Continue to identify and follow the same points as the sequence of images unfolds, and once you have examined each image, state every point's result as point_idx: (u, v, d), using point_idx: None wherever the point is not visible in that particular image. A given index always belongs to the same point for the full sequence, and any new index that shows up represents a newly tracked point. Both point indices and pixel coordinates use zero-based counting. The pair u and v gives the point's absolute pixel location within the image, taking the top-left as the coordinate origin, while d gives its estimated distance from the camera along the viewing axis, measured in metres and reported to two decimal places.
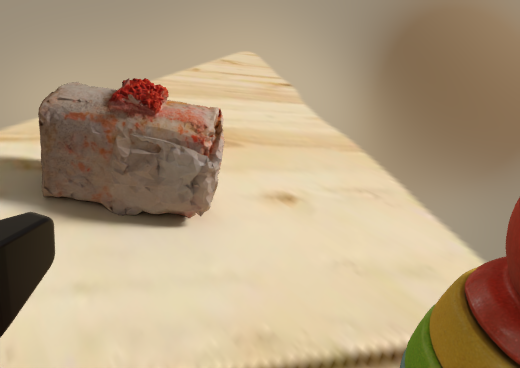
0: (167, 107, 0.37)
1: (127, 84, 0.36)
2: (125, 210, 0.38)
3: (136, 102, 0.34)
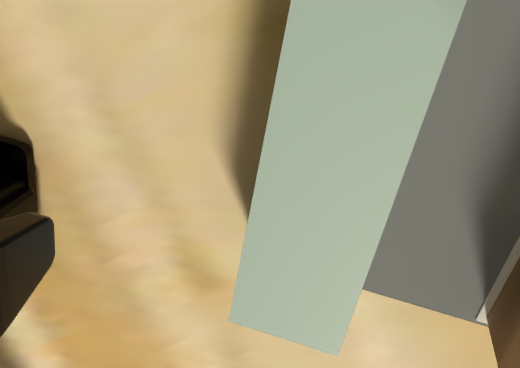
0: None
1: None
2: None
3: None
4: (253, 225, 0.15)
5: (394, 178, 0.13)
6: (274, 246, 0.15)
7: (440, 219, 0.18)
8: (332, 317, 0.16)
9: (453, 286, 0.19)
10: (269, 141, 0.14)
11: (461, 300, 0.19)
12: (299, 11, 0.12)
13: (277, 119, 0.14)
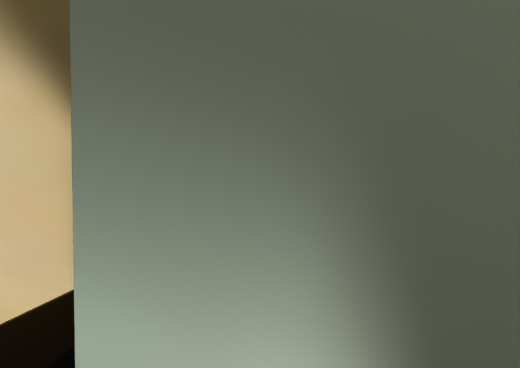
0: None
1: None
2: None
3: None
4: None
5: None
6: None
7: None
8: None
9: None
10: None
11: None
12: (100, 163, 0.04)
13: None
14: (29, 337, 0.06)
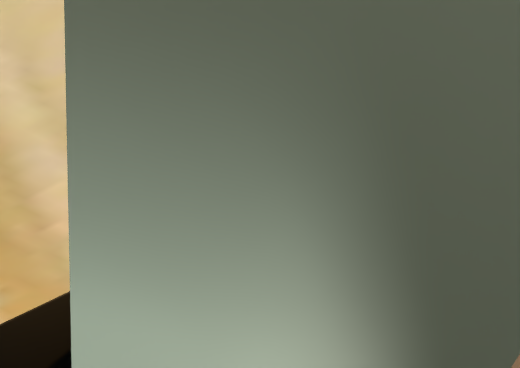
0: None
1: None
2: None
3: None
4: None
5: None
6: None
7: None
8: None
9: None
10: None
11: None
12: (95, 159, 0.04)
13: None
14: (29, 337, 0.06)
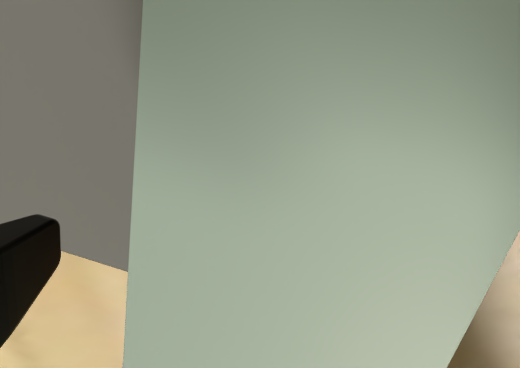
0: None
1: None
2: None
3: None
4: None
5: None
6: None
7: None
8: None
9: None
10: (135, 352, 0.07)
11: None
12: (160, 115, 0.05)
13: (144, 317, 0.06)
14: None
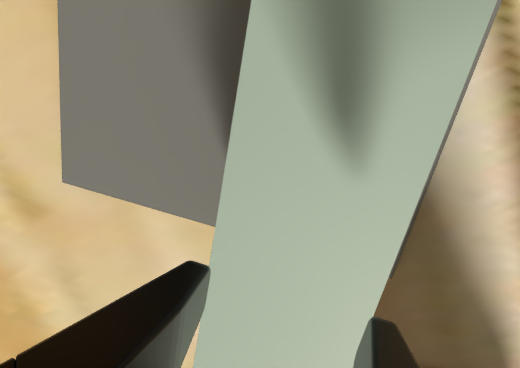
0: None
1: None
2: None
3: None
4: (211, 300, 0.12)
5: (388, 252, 0.10)
6: (238, 325, 0.12)
7: (197, 138, 0.21)
8: None
9: None
10: (227, 201, 0.11)
11: None
12: (259, 37, 0.09)
13: (236, 174, 0.10)
14: (75, 353, 0.06)
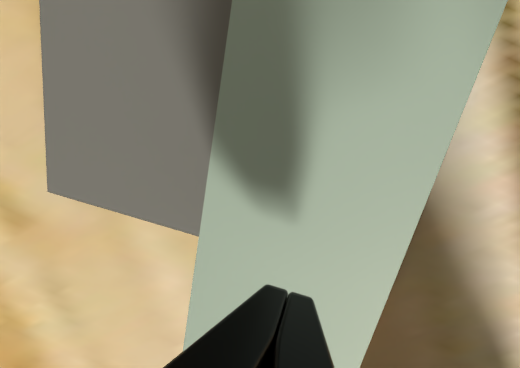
0: None
1: None
2: None
3: None
4: (194, 328, 0.11)
5: (383, 280, 0.10)
6: None
7: (186, 147, 0.20)
8: None
9: None
10: (209, 224, 0.10)
11: None
12: (240, 48, 0.08)
13: (218, 196, 0.10)
14: None
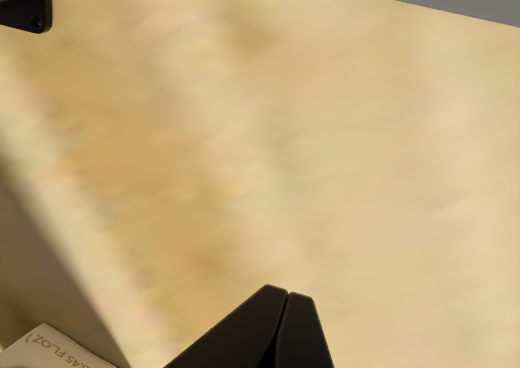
0: None
1: None
2: None
3: None
4: None
5: None
6: None
7: None
8: None
9: None
10: None
11: None
12: None
13: None
14: None
